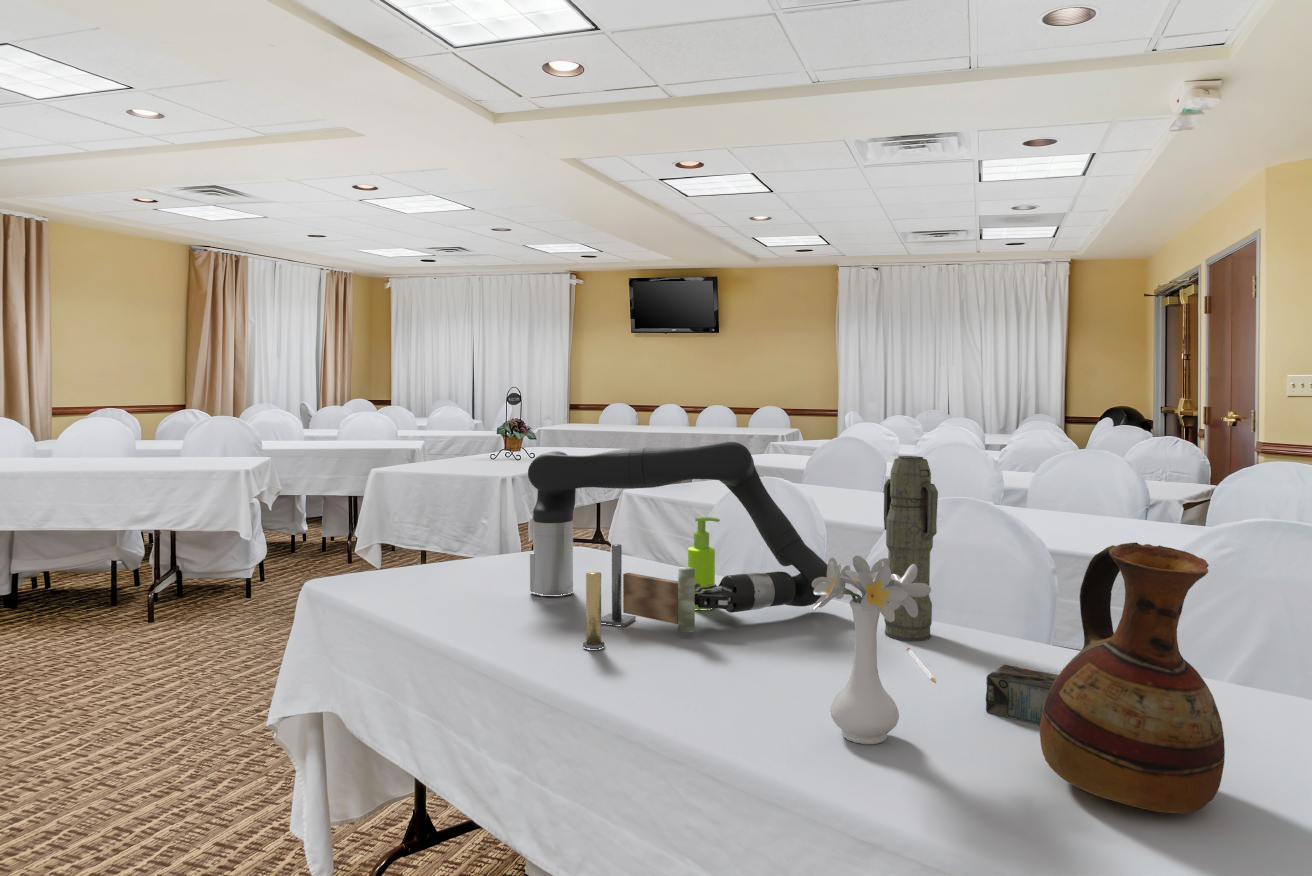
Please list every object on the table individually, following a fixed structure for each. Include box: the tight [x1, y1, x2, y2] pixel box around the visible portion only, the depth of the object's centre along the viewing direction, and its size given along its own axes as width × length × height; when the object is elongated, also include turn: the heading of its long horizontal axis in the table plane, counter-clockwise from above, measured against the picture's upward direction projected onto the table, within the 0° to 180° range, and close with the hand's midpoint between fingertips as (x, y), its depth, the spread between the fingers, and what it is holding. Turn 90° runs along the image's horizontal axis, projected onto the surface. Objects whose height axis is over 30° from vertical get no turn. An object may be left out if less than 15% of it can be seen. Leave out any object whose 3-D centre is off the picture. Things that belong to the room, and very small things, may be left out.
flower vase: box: [812, 555, 932, 745], centre depth 124 cm, size 13×18×25 cm
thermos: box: [883, 455, 939, 642], centre depth 174 cm, size 9×12×35 cm
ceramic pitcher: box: [1039, 542, 1226, 814], centre depth 107 cm, size 20×20×30 cm
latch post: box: [582, 571, 605, 649], centre depth 166 cm, size 4×4×14 cm
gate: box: [622, 566, 696, 633], centre depth 177 cm, size 17×3×12 cm, turn 51°
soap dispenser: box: [687, 516, 721, 610], centre depth 196 cm, size 6×7×20 cm
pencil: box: [906, 647, 936, 684], centre depth 156 cm, size 1×19×1 cm, turn 177°
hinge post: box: [601, 543, 637, 627], centre depth 184 cm, size 6×6×16 cm
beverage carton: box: [985, 664, 1059, 726], centre depth 130 cm, size 8×19×7 cm, turn 50°
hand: (672, 600), depth 176 cm, fingers closed
